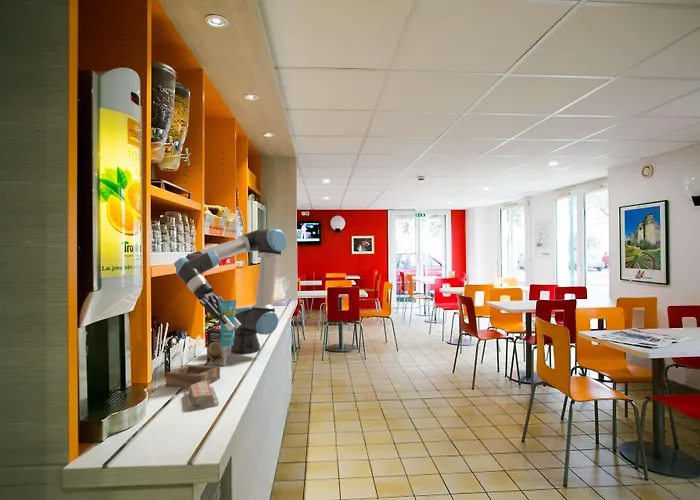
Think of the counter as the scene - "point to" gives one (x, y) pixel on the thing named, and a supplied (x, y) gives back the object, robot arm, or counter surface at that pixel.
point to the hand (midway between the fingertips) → (235, 327)
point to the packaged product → (201, 396)
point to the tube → (229, 311)
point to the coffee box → (216, 349)
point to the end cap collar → (192, 375)
